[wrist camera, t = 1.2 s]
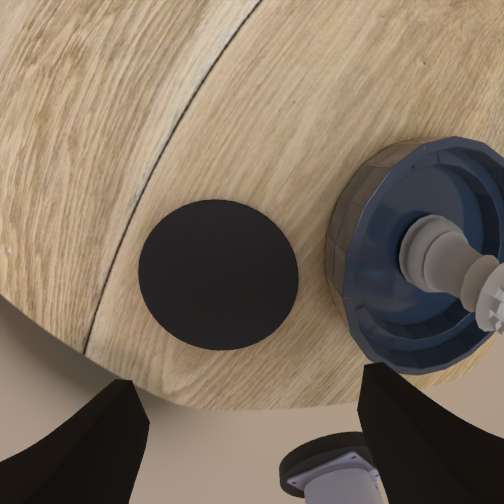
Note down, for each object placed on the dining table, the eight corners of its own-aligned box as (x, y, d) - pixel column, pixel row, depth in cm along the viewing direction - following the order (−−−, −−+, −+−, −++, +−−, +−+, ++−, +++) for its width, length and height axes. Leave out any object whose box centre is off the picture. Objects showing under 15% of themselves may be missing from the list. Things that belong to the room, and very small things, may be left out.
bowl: (507, 263, 17) (541, 282, 13) (381, 370, 19) (401, 407, 15) (445, 102, 14) (486, 95, 10) (277, 224, 16) (285, 245, 12)
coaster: (327, 293, 17) (328, 296, 17) (209, 368, 19) (208, 372, 18) (229, 164, 15) (229, 164, 15) (111, 265, 17) (109, 267, 16)
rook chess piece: (384, 275, 16) (459, 351, 9) (410, 202, 15) (509, 239, 8) (437, 290, 17) (513, 356, 9) (462, 225, 16) (553, 267, 8)
